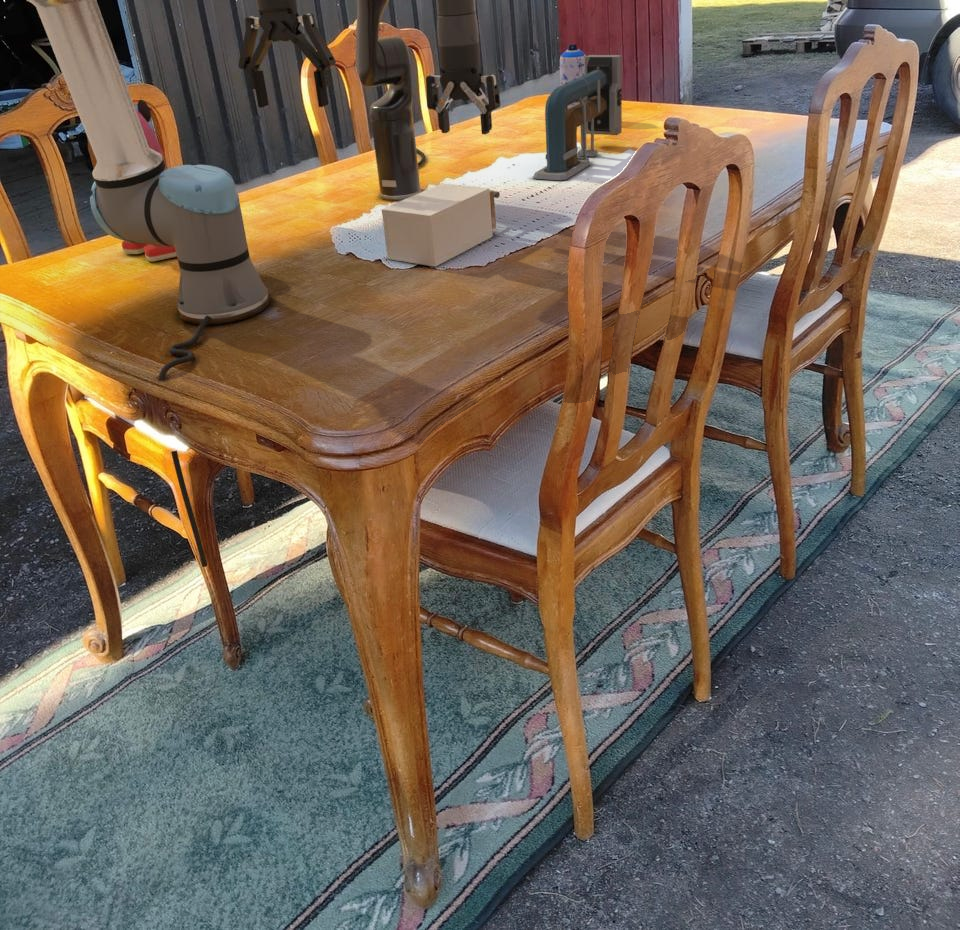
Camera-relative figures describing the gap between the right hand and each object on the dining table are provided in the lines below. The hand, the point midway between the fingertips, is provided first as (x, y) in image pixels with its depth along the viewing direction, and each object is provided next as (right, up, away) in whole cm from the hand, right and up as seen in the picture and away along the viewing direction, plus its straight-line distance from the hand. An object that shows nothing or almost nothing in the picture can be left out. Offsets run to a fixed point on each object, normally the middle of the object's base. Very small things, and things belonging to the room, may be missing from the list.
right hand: (465, 132), depth 184 cm
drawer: (-2, -18, +6) cm, 19 cm away
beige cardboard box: (-5, -21, +3) cm, 22 cm away
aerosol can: (+30, +36, +94) cm, 105 cm away
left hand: (-34, +8, +8) cm, 36 cm away
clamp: (+27, +11, +52) cm, 60 cm away
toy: (-63, -20, +13) cm, 67 cm away
